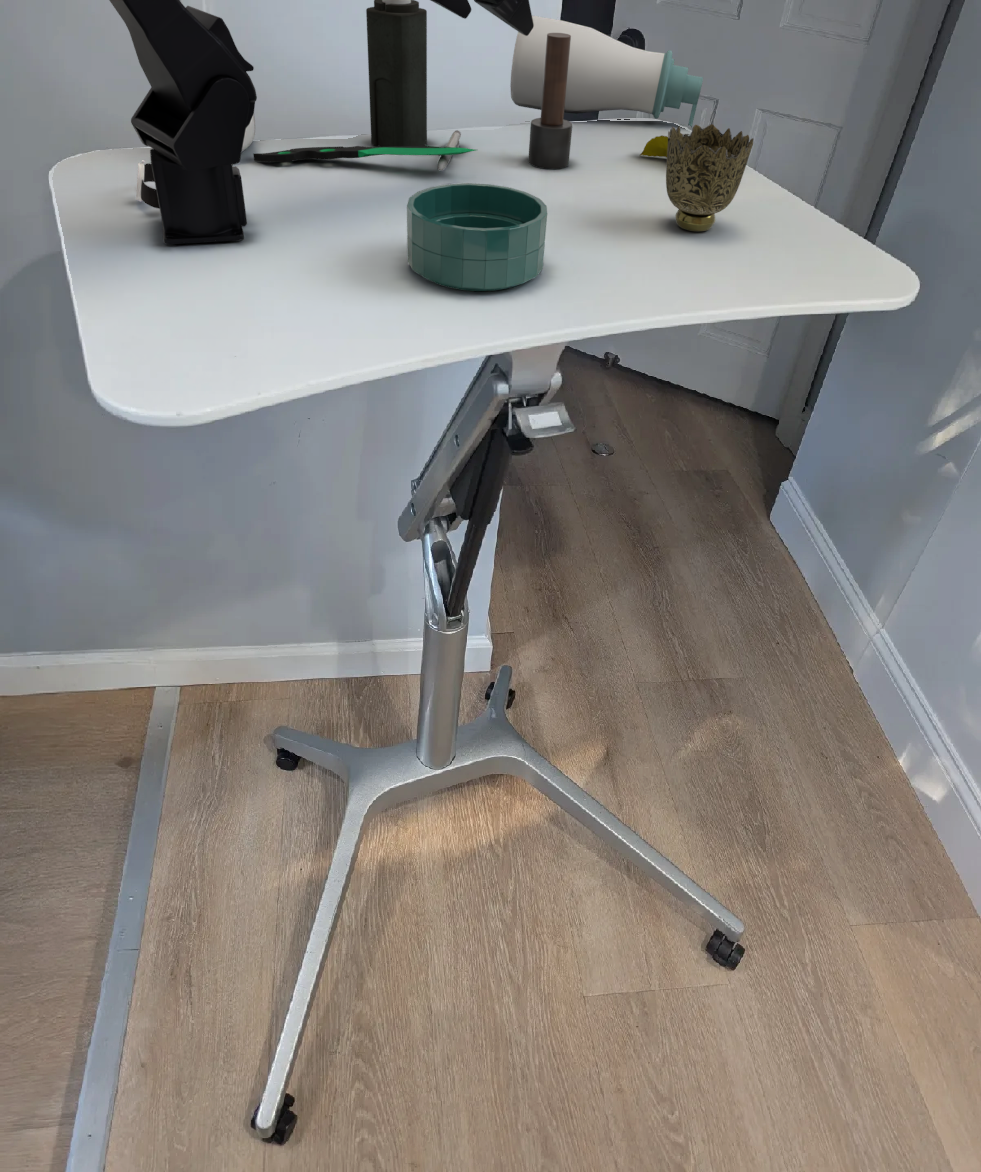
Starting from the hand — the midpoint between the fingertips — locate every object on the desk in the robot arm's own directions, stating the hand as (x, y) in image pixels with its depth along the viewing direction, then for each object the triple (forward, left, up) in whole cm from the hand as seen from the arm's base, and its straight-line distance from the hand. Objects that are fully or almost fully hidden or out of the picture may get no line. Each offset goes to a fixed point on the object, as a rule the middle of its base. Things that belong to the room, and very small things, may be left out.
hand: (497, 22), depth 84 cm
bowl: (-9, -24, -14) cm, 29 cm away
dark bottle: (-7, +12, -14) cm, 20 cm away
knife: (-14, +1, -12) cm, 18 cm away
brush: (+7, +3, -14) cm, 16 cm away
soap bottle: (+11, +26, -8) cm, 29 cm away
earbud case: (-28, +13, -8) cm, 32 cm away
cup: (+14, -18, -14) cm, 27 cm away
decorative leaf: (+21, 0, -14) cm, 25 cm away
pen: (-3, +5, -14) cm, 15 cm away
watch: (-33, -4, -14) cm, 36 cm away
